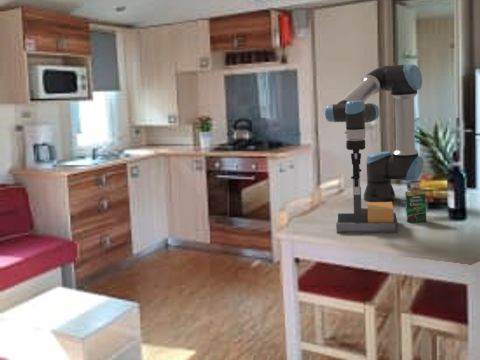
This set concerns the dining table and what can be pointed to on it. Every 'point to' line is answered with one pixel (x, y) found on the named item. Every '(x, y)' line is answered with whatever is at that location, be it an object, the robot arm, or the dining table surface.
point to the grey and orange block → (374, 210)
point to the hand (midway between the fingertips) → (356, 190)
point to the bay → (364, 225)
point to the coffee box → (415, 206)
